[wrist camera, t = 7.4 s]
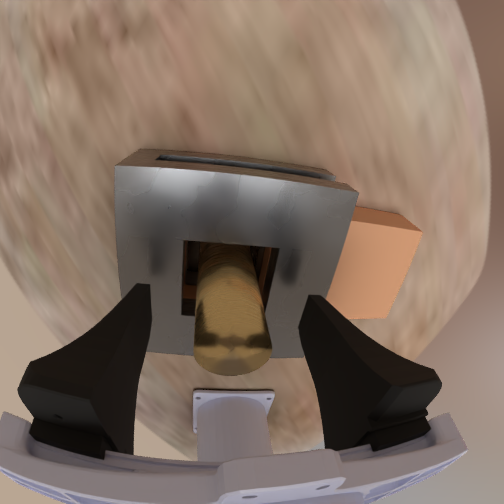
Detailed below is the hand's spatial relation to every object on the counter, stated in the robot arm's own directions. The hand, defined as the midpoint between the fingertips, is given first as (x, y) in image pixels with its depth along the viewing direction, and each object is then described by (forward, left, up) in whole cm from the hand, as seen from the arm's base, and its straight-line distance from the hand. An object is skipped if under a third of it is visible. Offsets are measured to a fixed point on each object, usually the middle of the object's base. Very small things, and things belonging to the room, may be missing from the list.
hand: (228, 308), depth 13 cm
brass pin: (0, 0, -6) cm, 6 cm away
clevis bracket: (0, 0, -6) cm, 6 cm away
